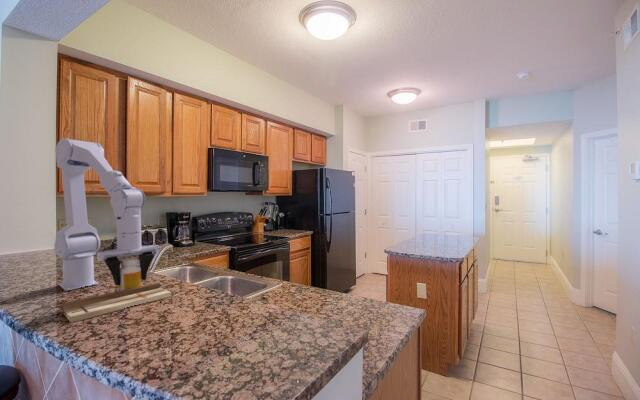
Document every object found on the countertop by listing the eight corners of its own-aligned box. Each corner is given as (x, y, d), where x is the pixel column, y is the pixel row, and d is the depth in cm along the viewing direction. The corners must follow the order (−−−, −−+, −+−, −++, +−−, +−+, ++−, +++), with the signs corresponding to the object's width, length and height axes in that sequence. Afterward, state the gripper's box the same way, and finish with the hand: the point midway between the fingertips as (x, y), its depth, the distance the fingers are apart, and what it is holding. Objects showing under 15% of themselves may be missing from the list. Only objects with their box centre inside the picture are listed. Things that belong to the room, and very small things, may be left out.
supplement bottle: (146, 291, 85) (145, 257, 85) (131, 298, 80) (130, 261, 80) (129, 291, 86) (128, 257, 86) (113, 297, 81) (112, 261, 81)
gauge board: (63, 313, 70) (62, 303, 70) (158, 290, 86) (158, 282, 86) (71, 322, 65) (70, 311, 65) (170, 296, 81) (170, 287, 81)
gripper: (101, 237, 75) (103, 291, 75) (162, 231, 86) (164, 278, 86) (94, 234, 80) (95, 286, 80) (152, 229, 91) (154, 274, 91)
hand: (130, 281), depth 83 cm, fingers open, 6 cm apart
